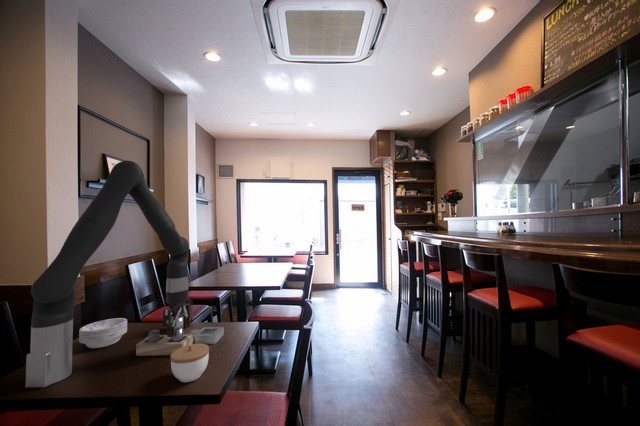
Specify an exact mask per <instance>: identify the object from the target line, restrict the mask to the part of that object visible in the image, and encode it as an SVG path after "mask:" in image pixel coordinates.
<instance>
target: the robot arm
mask: <svg viewBox="0 0 640 426" xmlns="http://www.w3.org/2000/svg"><path fill="white" fill-rule="evenodd" d="M128 195H129V196H130V197H131V198H132V199H133V200H134V201H135V203H136V205H137V206H138V208H139V209H140V211H141V212H142V214H143V216H144V217H145V219H146V221H147V222H148V224H149V225H150V227H151V228H152V230H153V231H154V233H155V234H156V235H157V237H158V239H159V242H160V243H161V246H162V247H163V249H164V250H165V251H166V253H167V254H169V260H168V261H169V262H168V264H167V268H166V284H165V285H166V286H165V302H166V304H168V305H169V306H168V309H163V311H162V327H163V328H167V330H166V331H167V332H166V335H167V337H173V336H174V324H175V321H176V320H177V319H178V317H179V316H183V328H186V327H187V317H188V315H189V314H190V300H188V298H189V277H188V275H189V274H188V273H189V271H188V267H189V266H188V260H189V253H190V244H189V241H188V239H187V238H185V237H183V236H181V235H180V233H179V232H178V231H177V229H176V225H175V223H174V221H173V219H172V218H171V216H170V215H169V214H168V212H167V211H166V209H165V208H164V207H163V206H162V205H161V204H160V202H159V201H158V200H157V199H156V197H155V196H154V195H153V193H152V191H151V189H150V188H149V185H148V183H147V181H146V179H145V174H144V172H143V169H142V168H141V167H140V165H139V164H138V163H136V162H135V161H132V160H121V161H118V162H117V163H116V164H115V165H114V166H113V167H112V168H111V171H110V173H109V174H108V176H107V178H106V180H105V182H104V184H103V186H102V187H101V189H100V190H99V192H98V193H97V194H96V195H95V197H94V198H93V199H92V200H91V202H90V203H89V205H88V206H87V207H86V208H85V210H84V211H83V213H82V214H81V216H80V217H79V218H78V219H77V221H76V223H75V224H74V226H73V227H72V229H71V231H69V233H68V235H67V237H66V239H65V240H64V243H63V244H62V247H61V248H60V251H59V252H58V254H57V255H56V257H55V258H54V259H53V260H52V262H51V263H50V264H49V265H48V266H47V268H46V269H45V271H43V272H42V273H41V275H40V276H39V277H37V279H36V280H35V281H34V282H33V283H32V286H31V288H30V293H31V296H32V298H33V302H32V303H33V308H32V315H31V321H30V323H31V324H30V351H29V352H30V353H29V352H28V353H27V354H26V357H25V358H26V359H25V388H45V387H48V386H51V385H53V384H56V383H58V382H61V381H62V380H63V381H64V380H65V379H66V378H68V377H69V376H71V375H72V372H73V337H74V336H73V331H74V330H73V329H74V327H73V326H74V308H75V307H74V306H75V305H74V304H75V284H76V282H77V280H78V279H79V278H78V277H79V276H80V274H81V272H82V270H83V268H84V267H85V265H86V264H87V262H88V261H89V259H90V258H91V257H92V256H93V254H94V253H95V252H96V251H97V250H98V249H99V247H100V246H101V245H102V244H103V242H105V241H104V240H105V239H106V238H107V237H108V235H109V234H110V232H111V230H112V228H113V227H114V225H115V223H116V221H117V219H118V216H119V214H120V210H121V208H122V206H123V202H124V200H125V198H126V197H127V196H128ZM186 309H187V310H186ZM172 320H173V321H172ZM171 321H172V323H171Z"/></svg>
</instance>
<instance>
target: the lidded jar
mask: <svg viewBox="0 0 640 426" xmlns="http://www.w3.org/2000/svg"><path fill="white" fill-rule="evenodd" d="M209 352H210V346H209V344H190V345H186V346H183V347H181V348H178V349H177V350H175V351H174V352H173V353H172V354H171V355H170V366H171V367H170V368H171V373H172V375H173V376H174V377H175V378H176V379H177V380H179V382H181V383H190V382H193V381H196V380H198V379H199V378H200V377H201V376H202V374H203V373H204V371H205V370H206V369H207V367H208V363H209V357H210V353H209Z"/></svg>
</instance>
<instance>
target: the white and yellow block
mask: <svg viewBox="0 0 640 426" xmlns="http://www.w3.org/2000/svg"><path fill="white" fill-rule="evenodd" d="M199 330H200V329H188V330H183V335H194V334H196V333H197V332H198V331H199Z"/></svg>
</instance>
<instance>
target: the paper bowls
mask: <svg viewBox="0 0 640 426" xmlns="http://www.w3.org/2000/svg"><path fill="white" fill-rule="evenodd" d="M78 332H79V334H78V342H79V343H80V344H85V346H86V347H87V348H88V349H100V348H104V347H108V346H112V345H114V344H116V343H117V342H119V341H120V339H121V338H122V336H123V335H125V334H126V333H127V332H128V319H127V318H123V317H116V318H108V319H103V320H98V321H94V322H92V323H91V322H90V323H88V324H86V325H84V326H82V327H80V328H79V330H78Z"/></svg>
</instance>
